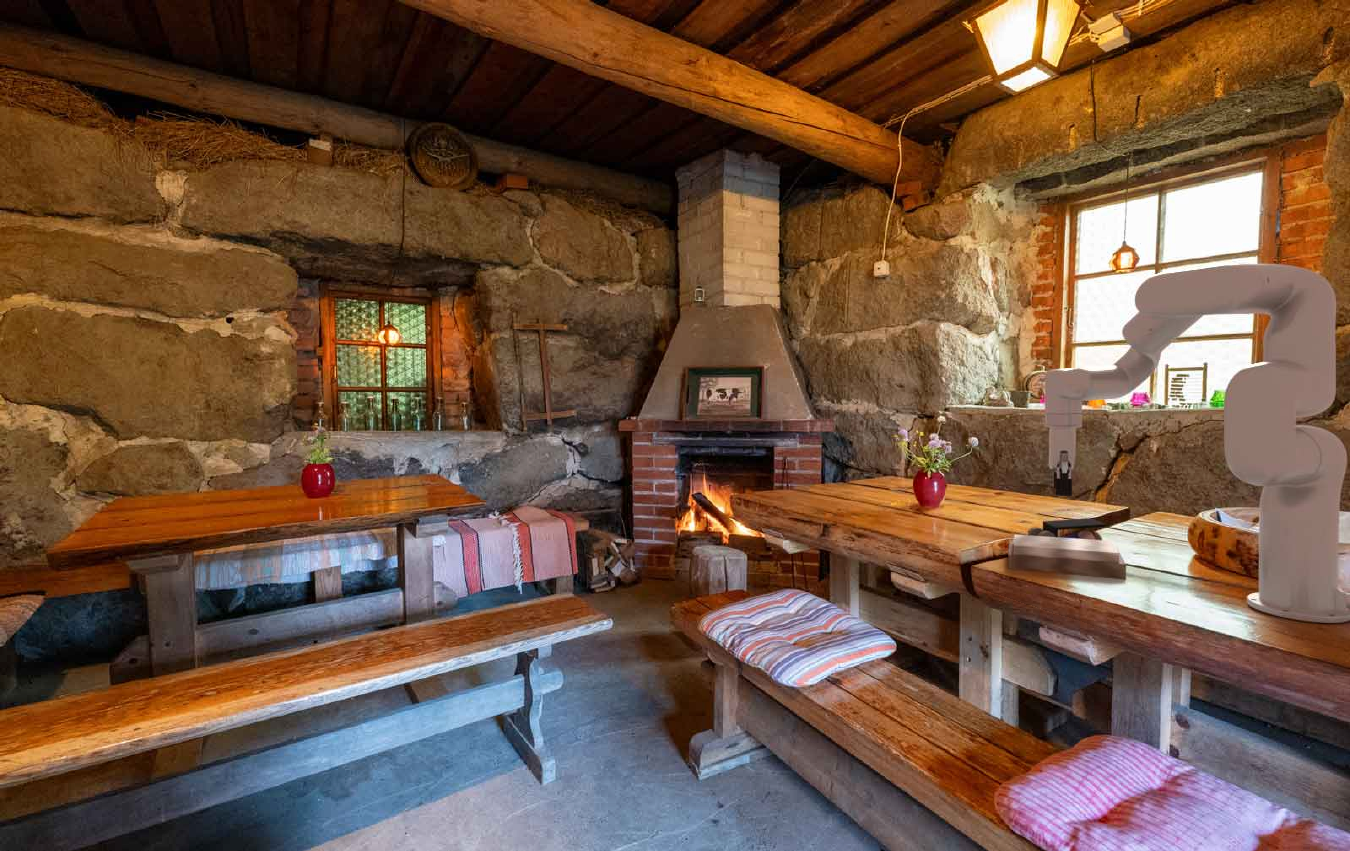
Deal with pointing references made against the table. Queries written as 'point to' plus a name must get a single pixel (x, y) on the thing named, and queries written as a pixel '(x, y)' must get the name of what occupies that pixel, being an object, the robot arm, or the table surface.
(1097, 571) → the plinth
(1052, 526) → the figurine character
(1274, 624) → the table surface
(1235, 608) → the table surface
